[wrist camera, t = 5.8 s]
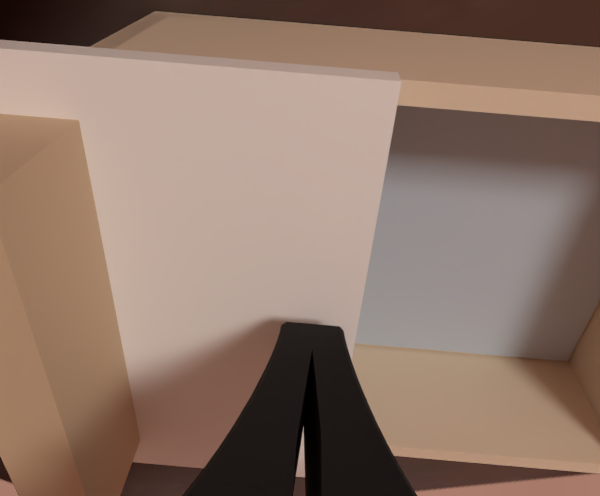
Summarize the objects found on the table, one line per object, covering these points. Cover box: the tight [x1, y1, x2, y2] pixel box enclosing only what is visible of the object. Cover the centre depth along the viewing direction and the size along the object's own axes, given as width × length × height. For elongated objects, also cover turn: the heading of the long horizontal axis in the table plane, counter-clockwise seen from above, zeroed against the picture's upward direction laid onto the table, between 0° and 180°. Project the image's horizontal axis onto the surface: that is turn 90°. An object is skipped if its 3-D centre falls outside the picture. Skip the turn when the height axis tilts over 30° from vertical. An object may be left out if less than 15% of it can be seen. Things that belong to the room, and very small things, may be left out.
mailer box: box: [90, 11, 600, 474], centre depth 15 cm, size 16×12×5 cm
